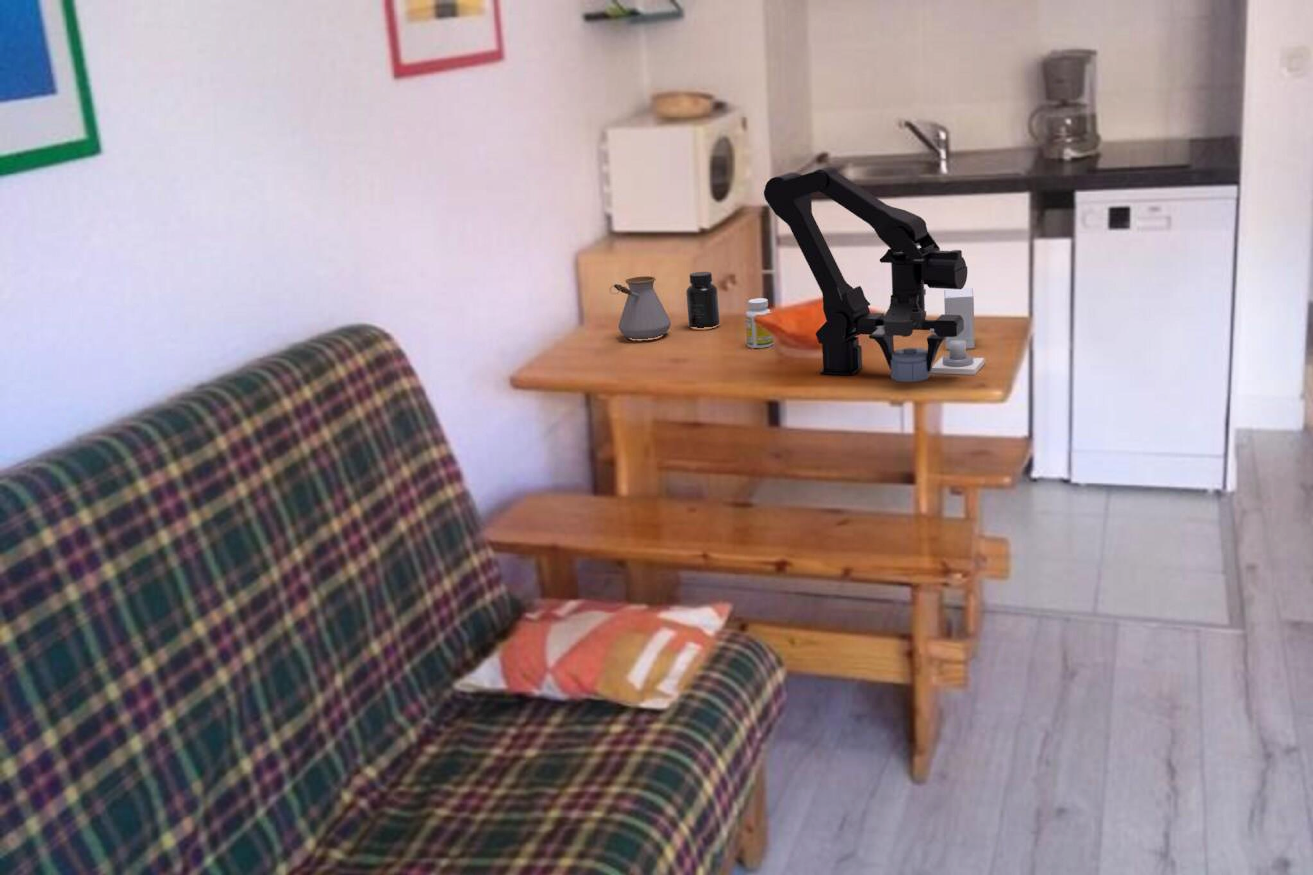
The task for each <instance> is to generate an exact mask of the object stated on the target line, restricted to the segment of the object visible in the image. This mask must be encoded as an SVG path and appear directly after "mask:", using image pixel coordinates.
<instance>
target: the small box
mask: <svg viewBox="0 0 1313 875" xmlns="http://www.w3.org/2000/svg"><path fill="white" fill-rule="evenodd" d="M943 298H944V303H943V304H944V315H960V316H961V317H962V318H963V320H964V330H963V331H962V332H961V333H960V334H959V335H958V336H956V337H947V338H946V339H945V340H944V341H945V350H947V351H950V349H949V342H950V341H953V340H964V341H966V350H969V349H975V308H974V307H975V301H974V300H975V299H974V290H973V288H971V287H970V288H967V287H966V288H962V289H944V297H943Z"/></svg>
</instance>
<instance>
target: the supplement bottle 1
mask: <svg viewBox="0 0 1313 875" xmlns="http://www.w3.org/2000/svg"><path fill="white" fill-rule="evenodd" d="M712 276H713V275H712V272H711V271H697V272H692V273H690V274H689V283H690V286H688V287H687V288H686V307H687V316H688V317H687V318H688V319H687V320H688V326H690V327H697V328H704V327H713V326H716V325H718V324H720V322H721V321H720V306H719V295H718V288H717V287H716V285H715V284H713V283H712V282H713V277H712ZM690 327H689V328H690Z"/></svg>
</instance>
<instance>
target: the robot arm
mask: <svg viewBox="0 0 1313 875" xmlns="http://www.w3.org/2000/svg"><path fill="white" fill-rule="evenodd" d="M764 186H765V187H764V190H763V197H764V199H765V201H766V203H767V204H768V205H769V207H770V209H771V210H772V211H773V213H774V214H775V215H776V216H777V217H778V218H779V219H780V220H782V221H783V222H784V223H785V224H786V225H787V226H788V227H789V230H790V231H791V233H792V235H793V237H794V239H795V241H796V242H797V246H798V247H799V249H800V251H801V253H802V255H803V257H804V259H805V261H806V263H807V265H808V266H809V269H810V271H811V273H812V275H813V278H814V279H815V281H816V283H817V285H818V287H819V289H820V292H821V294H822V310H823V313H824V317H825V322H824V323H823V325H821V327H820V328H819V329H818V330H817V331H816V332H815V336H816V339H817V342H818V344H821V348H822V349H821V350H822V367H823V368H822V369H821V370H820V371H819V373H820V374H822V375H837V376H838V375H839V376H853V375H855V374H856V373H857V372H858V371H860V370H861V369H862V368H863V366H864V365H863V353H862V352H863V351H862V348H863V347H862V345H859V344H860V342H859V339H860V338H859V336H860V335H868V337H869V339H870V340H874V341H875V342H876V343H877V344H878V345H879V347H880V349H881V351H882V353H883V355H884V358H885V360H886V363H887V364H888V367H889V369H890V371H891V359H892V352H893V351H895V347H894V346H895V344H894V343H895V342H894V336H900V337H903V338H905V337H906V338H907V337H910V336H911V335H912V334H913V331H917V330H918V331H930V335H929V336H927V338H926V343H927V351H928V353H927V371H928V372H930V373H931V368H932V366H933V365H934V364H935V359H936V357H937V353H938V351H939V348H940V347H941V344H942V342H943V341H945V339H946V338H947V337H956V336H958V335H959V334H960V333H961V332H962V331H963V330H964V320H963V318H962V317H961V316H960V315H945V314H941V315H940V316H939V317H937V318H936V319H926V317H927V311H926V307H925V306H926V304H925V303H926V302H925V296H926V294H927V293H926V292H927V291H926V290H927V289H926V288H925V285H927V287H928V288H930V289H941V290H943V289H944V290H945V289H964V287H965V286H966V282H967V279H968V266H967V263H966V260H965V258H964V257H963V251H962V250H961V249H952V250H941V248H940V246H939V244H937V242H936V241H935V240H934V238H933V236H931V233H930V232H929V231H928V228H927V223H926V221H925V220H924V219H923V218H922V217H921V216H919V215H917V214H914V213H912V212H910V211H908V210H906V209H902V208H897V207H894V206H891V205H888V204H886V203H885V202H883V201H882V200H880V199H878V198H877V197H876V196H874V195H872V194H871V193H870V192H868V191H867V190H865V189H863V188H862V187H860V186H859V185H858V184H856V183H855V182H853V181H852V180H850V179H848V178H847V177H846V176H844V175H842V174H841V173H840V172H838V170H836V168H835V167H831V166H825V167H822V168H820V169H816V170H814V171H811V172H809V173H806V174H800V173H797V172H788V173H784V174H781V175H777V176H774V177H772V178H770V179H769V180H768V181H767V182H766V184H765V185H764ZM817 192H819V193H822V194H823V195H824V196H826V197H828V198H830V199H831V200H832V201H834V203H837V204H838V205H839V206H841V207H842V208H844V209H845V210H847V211H849V212H850V213H852V214H853V215H854V216H856V217H857V218H859V219H860V220H862V221H863V222H866V224H868V225H869V226H870V227H871V228H872V229H873V230H874V232H875V234H876V235H877V237H878V238H879V239H880V240H881V241H882V242H883V243H884V244H885V245H886V246H887V247H888V249H887V250H886V253H885V254H884V255H883V256H882V257H880V259H879V263H882V264H883V263H884V264H885V263H886V264H890V268H891V270H890V271H891V294H890V303H889V306H888V309H887V310H886V313H885V314H884V313H883V312H882V313H881V312H880V313H877V312H871V310H870V308H869V306H870V305H871V303H870V302H869V301H868V299H867V298H866V296H865V293H864V289H863V288H862V287H861V285H858V286H855V287H853V286H851V285H850V284H849V283H847V282H848V281H846V279H845V277H844V276H843V273H842V271H841V270H840V267H839V265H838V262H836V259H835V258H834V255H833V253H832V251H831V250H830V247H829V246H828V243H827V242H826V240H825V237H824V234H822V231H821V229H820V227H819V225H818V223H817V221H816V219H815V217H814V215H813V210H812V208H813V206H812V196H811V194H814V193H817Z"/></svg>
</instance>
